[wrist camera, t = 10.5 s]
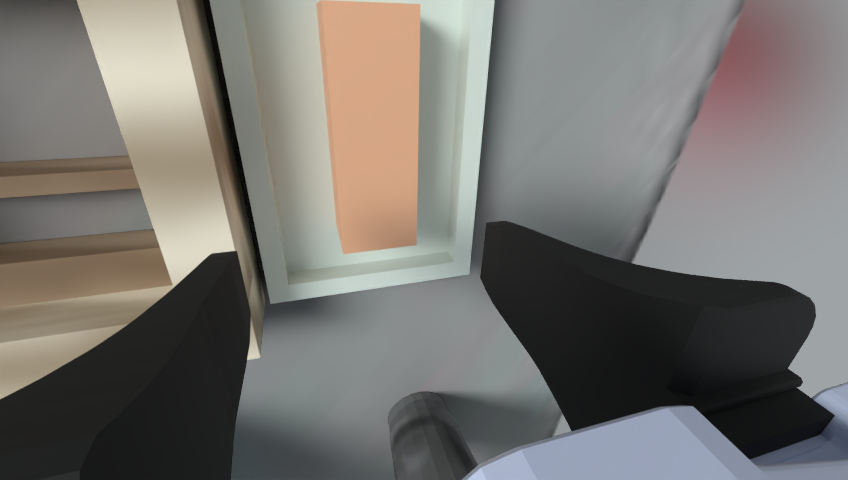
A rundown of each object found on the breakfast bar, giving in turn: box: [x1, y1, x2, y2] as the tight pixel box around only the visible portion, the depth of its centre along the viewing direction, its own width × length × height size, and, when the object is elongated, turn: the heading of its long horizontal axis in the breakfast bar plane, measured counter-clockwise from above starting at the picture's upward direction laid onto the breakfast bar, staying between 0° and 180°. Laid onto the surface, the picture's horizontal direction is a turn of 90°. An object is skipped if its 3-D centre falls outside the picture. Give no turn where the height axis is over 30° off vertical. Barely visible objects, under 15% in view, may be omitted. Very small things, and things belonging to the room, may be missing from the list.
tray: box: [210, 0, 495, 304], centre depth 19 cm, size 16×11×2 cm
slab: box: [316, 0, 420, 254], centre depth 18 cm, size 10×4×3 cm, turn 178°
